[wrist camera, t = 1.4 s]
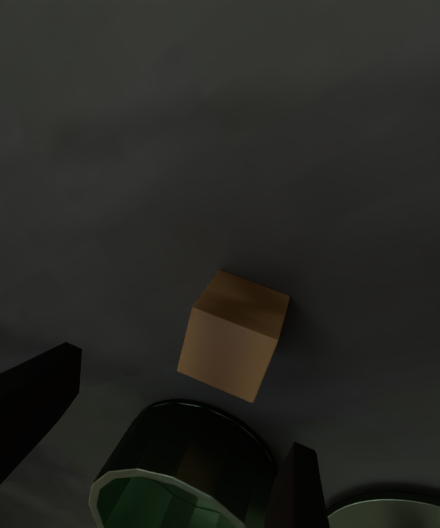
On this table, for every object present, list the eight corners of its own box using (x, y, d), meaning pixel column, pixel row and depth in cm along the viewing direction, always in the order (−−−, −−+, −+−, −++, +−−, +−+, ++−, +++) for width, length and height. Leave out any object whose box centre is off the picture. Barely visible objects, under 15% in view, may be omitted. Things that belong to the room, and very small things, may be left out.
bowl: (313, 483, 24) (306, 577, 19) (213, 528, 29) (188, 609, 25) (186, 372, 23) (146, 442, 18) (108, 439, 29) (63, 506, 24)
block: (290, 295, 19) (278, 340, 15) (268, 352, 21) (253, 403, 17) (219, 269, 19) (192, 306, 16) (203, 326, 21) (176, 371, 18)
